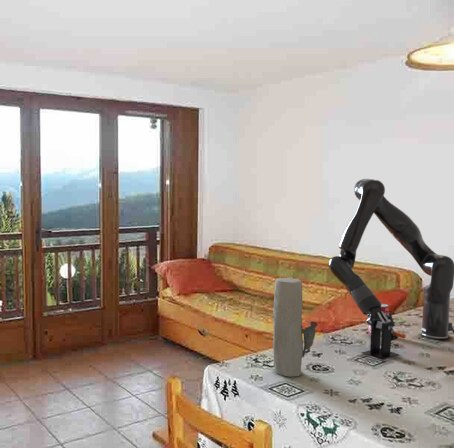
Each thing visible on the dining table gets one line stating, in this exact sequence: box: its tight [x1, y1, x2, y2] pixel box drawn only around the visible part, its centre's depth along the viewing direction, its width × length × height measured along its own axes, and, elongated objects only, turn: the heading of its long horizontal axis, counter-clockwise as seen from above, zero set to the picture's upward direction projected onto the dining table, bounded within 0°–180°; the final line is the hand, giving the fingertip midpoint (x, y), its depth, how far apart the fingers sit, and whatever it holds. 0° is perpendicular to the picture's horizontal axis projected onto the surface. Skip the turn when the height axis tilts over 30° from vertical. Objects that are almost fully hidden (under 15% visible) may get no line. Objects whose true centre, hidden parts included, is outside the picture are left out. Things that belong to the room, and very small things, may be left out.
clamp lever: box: [376, 321, 407, 339], centre depth 177 cm, size 12×7×2 cm, turn 124°
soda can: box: [367, 302, 390, 335], centre depth 200 cm, size 7×7×13 cm
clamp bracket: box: [361, 319, 400, 361], centre depth 175 cm, size 10×8×13 cm
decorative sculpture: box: [272, 277, 318, 378], centre depth 158 cm, size 14×10×30 cm
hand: (394, 339), depth 181 cm, fingers closed
